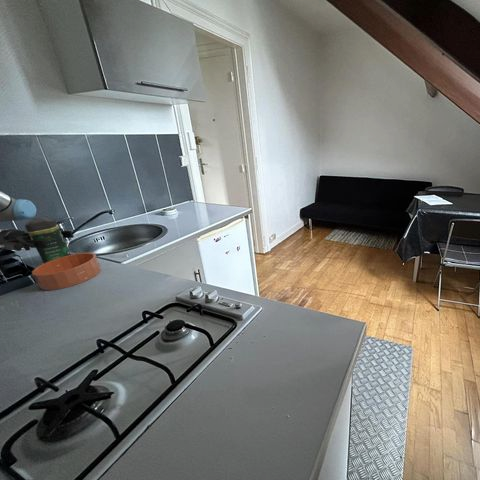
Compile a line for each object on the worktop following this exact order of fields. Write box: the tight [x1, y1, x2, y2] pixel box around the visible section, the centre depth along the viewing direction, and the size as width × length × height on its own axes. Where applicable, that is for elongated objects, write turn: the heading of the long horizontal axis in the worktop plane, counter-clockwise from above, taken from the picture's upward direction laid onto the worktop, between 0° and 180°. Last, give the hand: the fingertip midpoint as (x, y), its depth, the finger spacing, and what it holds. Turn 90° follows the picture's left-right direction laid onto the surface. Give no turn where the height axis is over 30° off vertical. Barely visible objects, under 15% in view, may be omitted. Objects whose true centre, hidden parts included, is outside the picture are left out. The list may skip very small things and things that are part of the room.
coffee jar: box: [24, 215, 72, 264], centre depth 97 cm, size 10×8×19 cm
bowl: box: [31, 252, 102, 291], centre depth 89 cm, size 16×16×6 cm
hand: (58, 238), depth 95 cm, fingers closed on coffee jar, 8 cm apart
